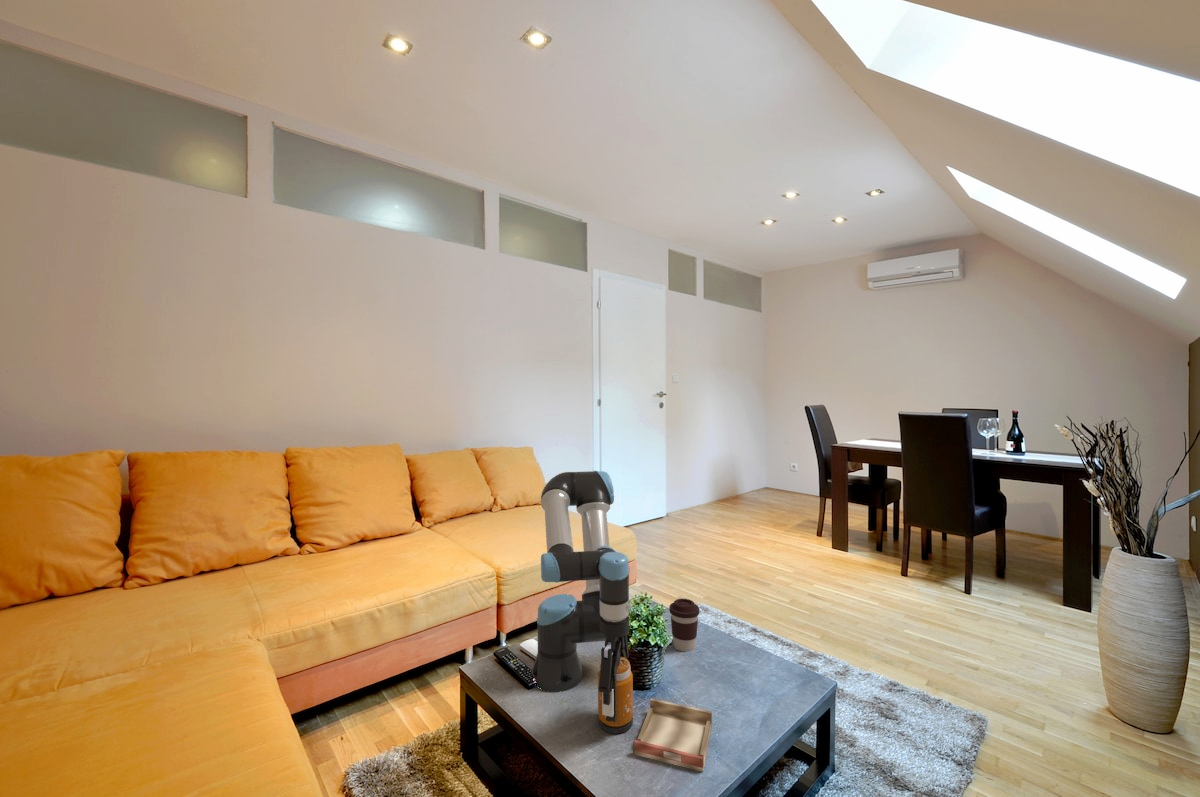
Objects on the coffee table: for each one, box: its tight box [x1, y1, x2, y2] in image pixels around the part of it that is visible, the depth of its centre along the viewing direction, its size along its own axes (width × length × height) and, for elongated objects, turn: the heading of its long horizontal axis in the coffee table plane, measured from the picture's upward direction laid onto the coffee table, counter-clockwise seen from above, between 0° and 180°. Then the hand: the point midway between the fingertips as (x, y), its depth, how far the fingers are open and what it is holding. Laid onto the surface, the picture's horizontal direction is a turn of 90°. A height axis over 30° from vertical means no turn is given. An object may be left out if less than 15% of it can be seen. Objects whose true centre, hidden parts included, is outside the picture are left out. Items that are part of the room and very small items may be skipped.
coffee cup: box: [668, 598, 700, 653], centre depth 162 cm, size 10×10×15 cm
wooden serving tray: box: [633, 698, 713, 773], centre depth 118 cm, size 16×16×4 cm
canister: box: [597, 650, 634, 734], centre depth 123 cm, size 9×11×20 cm
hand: (614, 701), depth 124 cm, fingers closed on canister, 10 cm apart
